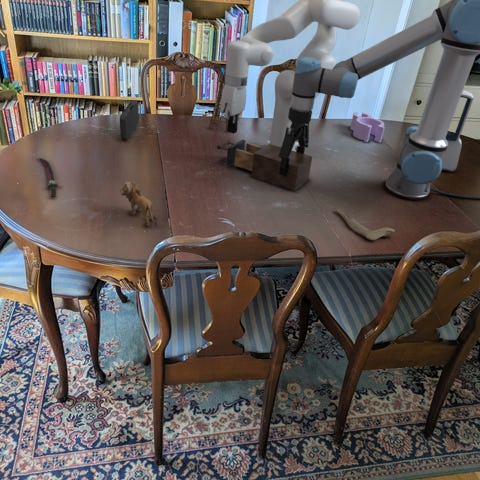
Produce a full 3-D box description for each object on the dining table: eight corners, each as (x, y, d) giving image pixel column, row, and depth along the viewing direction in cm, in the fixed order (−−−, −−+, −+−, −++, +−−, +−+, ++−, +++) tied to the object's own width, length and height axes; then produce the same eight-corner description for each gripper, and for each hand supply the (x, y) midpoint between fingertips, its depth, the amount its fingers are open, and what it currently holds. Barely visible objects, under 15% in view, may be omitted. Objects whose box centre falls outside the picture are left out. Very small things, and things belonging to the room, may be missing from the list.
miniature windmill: (227, 131, 202) (232, 59, 186) (208, 128, 203) (212, 56, 187) (231, 125, 210) (237, 55, 193) (213, 122, 211) (217, 52, 194)
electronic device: (453, 166, 192) (481, 93, 175) (454, 173, 186) (482, 98, 169) (422, 160, 194) (446, 87, 178) (422, 167, 188) (447, 92, 172)
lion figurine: (118, 210, 138) (116, 182, 133) (132, 204, 141) (131, 177, 137) (151, 229, 130) (150, 201, 126) (165, 223, 134) (165, 195, 129)
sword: (61, 197, 141) (61, 193, 140) (50, 198, 139) (50, 194, 139) (49, 160, 164) (48, 156, 163) (39, 160, 163) (39, 157, 162)
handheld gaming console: (132, 121, 201) (132, 98, 196) (139, 122, 202) (138, 99, 196) (119, 140, 182) (118, 115, 177) (126, 141, 182) (125, 116, 177)
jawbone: (381, 248, 134) (382, 242, 133) (320, 221, 145) (321, 216, 143) (394, 234, 140) (396, 229, 139) (335, 210, 150) (336, 204, 149)
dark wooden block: (251, 176, 166) (253, 153, 161) (266, 166, 175) (269, 143, 170) (294, 191, 159) (298, 166, 155) (308, 179, 168) (312, 156, 163)
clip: (343, 126, 223) (346, 112, 219) (367, 127, 225) (371, 113, 221) (360, 142, 206) (364, 127, 202) (386, 142, 209) (390, 127, 205)
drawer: (213, 160, 173) (214, 142, 169) (228, 152, 180) (229, 135, 177) (264, 177, 164) (266, 159, 160) (277, 168, 172) (280, 150, 168)
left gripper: (238, 74, 166) (233, 124, 176) (215, 82, 155) (211, 134, 165) (256, 79, 163) (250, 129, 173) (234, 86, 152) (229, 140, 162)
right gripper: (305, 98, 162) (295, 156, 174) (274, 114, 144) (265, 177, 156) (325, 103, 159) (314, 162, 171) (295, 120, 141) (285, 184, 153)
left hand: (231, 132), depth 169 cm, fingers closed
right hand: (290, 169), depth 163 cm, fingers closed on dark wooden block, 12 cm apart
